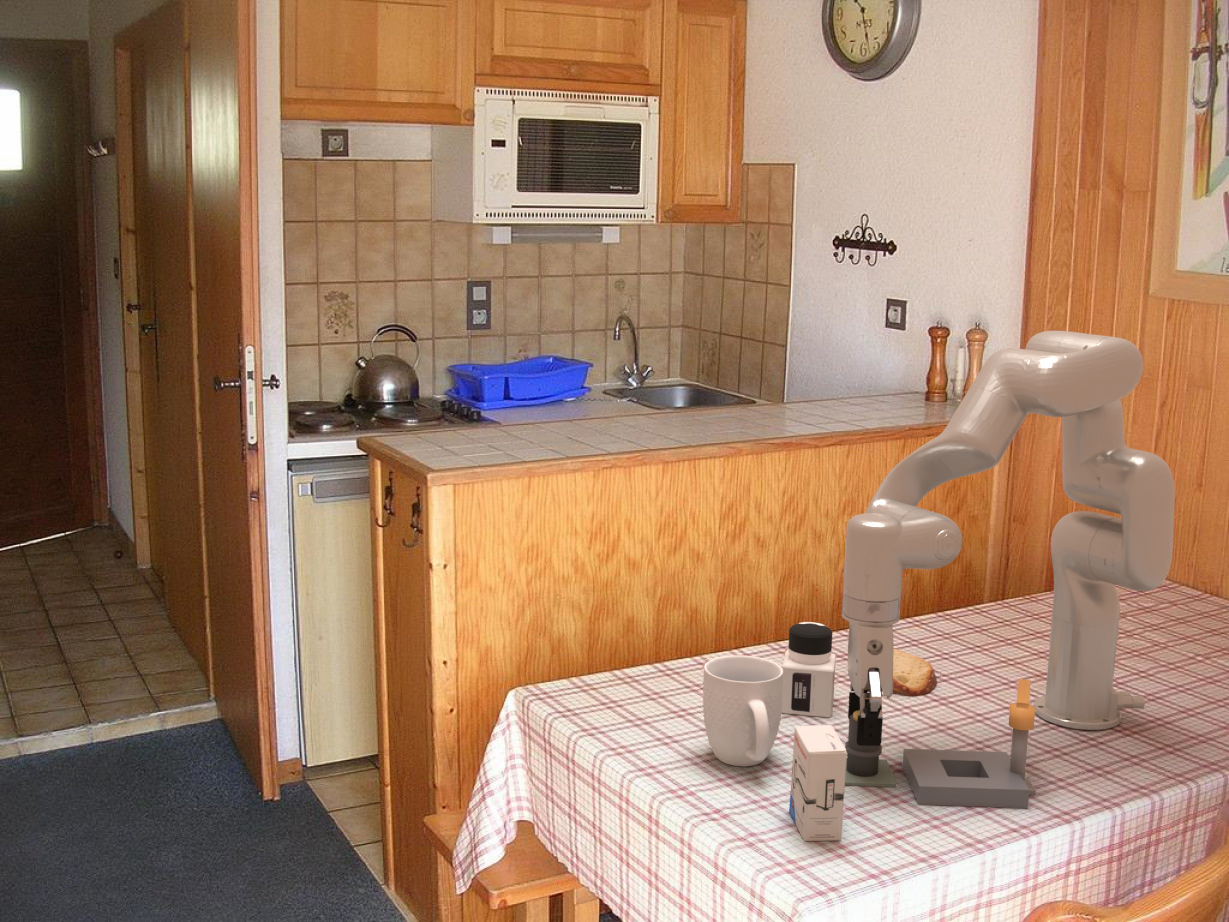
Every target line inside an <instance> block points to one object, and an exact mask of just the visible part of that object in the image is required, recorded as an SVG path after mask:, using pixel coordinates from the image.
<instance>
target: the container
mask: <svg viewBox="0 0 1229 922" xmlns="http://www.w3.org/2000/svg"><path fill="white" fill-rule="evenodd" d="M787 646H788V647H787V648H788V649H787V650H785V653H784V658H783V663H782V666H781V668H782V669H783V699H782V700H783V701H782V713H781V714H787V715H800V716H809V717H820V718H831V717H832V716H833V715H832V714H833V705H834V698H835V696H834V695H835V679H836V678H835V676H836V659H837V656H836V654H835V653H832V651H833V650H832V649H833V631H832V629H831V628H830V627H828V626H827V625H825V624H823V623H820V622H819V623H818V622H812V621H804V622H803V621H802V622H799V623H796V624H793V625H791V626H790V627H789V630H788V645H787Z"/></svg>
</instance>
